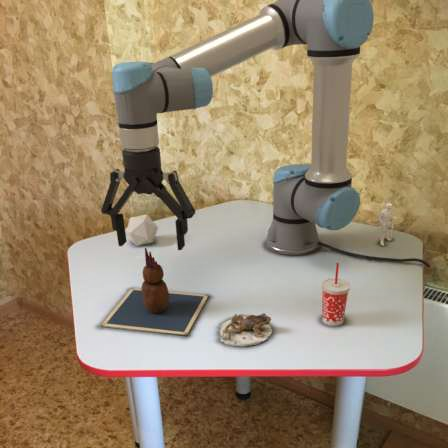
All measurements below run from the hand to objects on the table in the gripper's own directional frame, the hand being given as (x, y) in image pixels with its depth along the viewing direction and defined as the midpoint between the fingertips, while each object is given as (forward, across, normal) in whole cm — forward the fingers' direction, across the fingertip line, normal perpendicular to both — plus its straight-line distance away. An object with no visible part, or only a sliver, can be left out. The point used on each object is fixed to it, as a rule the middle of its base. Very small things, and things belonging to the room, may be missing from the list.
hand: (151, 245), depth 116 cm
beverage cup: (+17, -40, -3) cm, 43 cm away
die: (+17, +18, -37) cm, 45 cm away
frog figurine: (+17, -22, +5) cm, 28 cm away
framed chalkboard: (+16, 0, 0) cm, 16 cm away
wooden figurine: (+16, 0, 0) cm, 16 cm away
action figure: (+17, -52, -50) cm, 74 cm away
